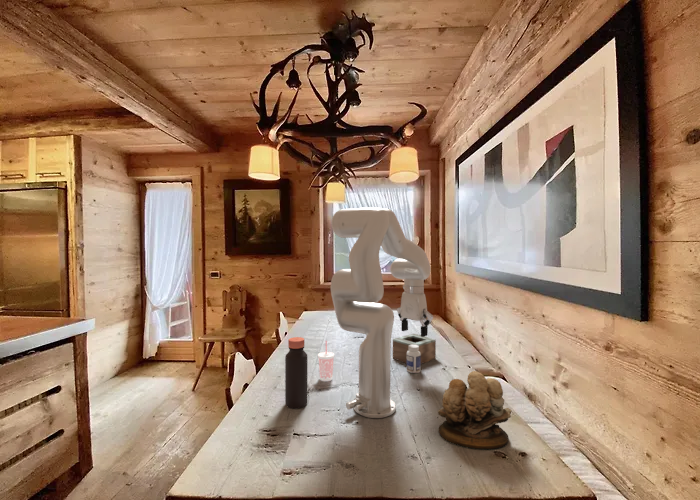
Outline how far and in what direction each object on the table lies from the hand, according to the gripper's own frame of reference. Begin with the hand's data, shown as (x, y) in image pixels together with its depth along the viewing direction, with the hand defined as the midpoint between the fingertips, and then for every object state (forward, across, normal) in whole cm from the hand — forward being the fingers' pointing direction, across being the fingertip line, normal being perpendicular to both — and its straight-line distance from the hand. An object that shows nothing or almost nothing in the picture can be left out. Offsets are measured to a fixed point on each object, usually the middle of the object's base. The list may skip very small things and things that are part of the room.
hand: (414, 333), depth 128 cm
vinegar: (+14, -5, -50) cm, 52 cm away
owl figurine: (+14, +39, -23) cm, 47 cm away
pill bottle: (+15, 0, -1) cm, 15 cm away
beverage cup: (+14, -15, -32) cm, 38 cm away
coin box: (+15, -9, +10) cm, 20 cm away
